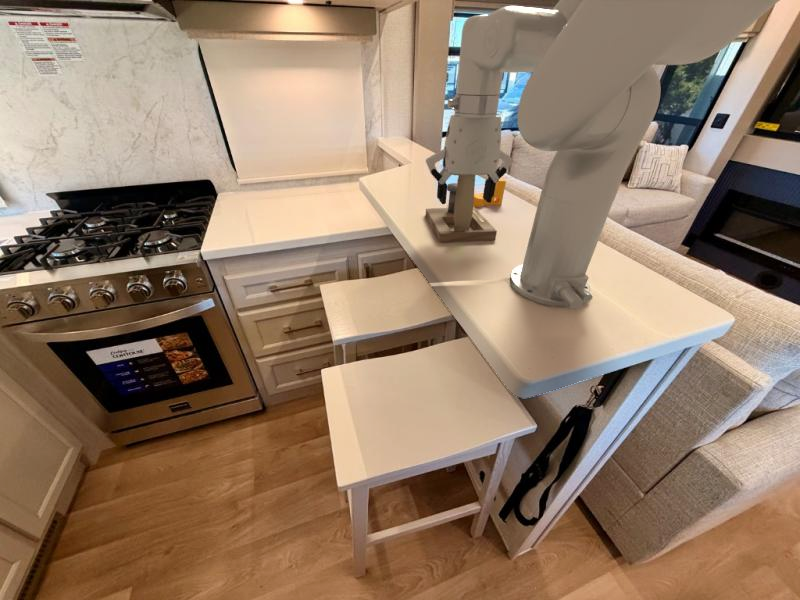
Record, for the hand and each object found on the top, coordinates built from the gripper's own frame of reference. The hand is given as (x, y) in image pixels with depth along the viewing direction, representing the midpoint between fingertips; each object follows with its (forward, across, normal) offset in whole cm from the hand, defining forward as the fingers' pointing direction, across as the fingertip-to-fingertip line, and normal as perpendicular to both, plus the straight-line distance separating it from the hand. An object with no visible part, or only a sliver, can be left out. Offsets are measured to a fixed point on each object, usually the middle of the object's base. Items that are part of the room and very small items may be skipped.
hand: (464, 201), depth 68 cm
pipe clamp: (+7, +10, +17) cm, 21 cm away
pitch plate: (+7, 0, +2) cm, 7 cm away
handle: (+7, 0, 0) cm, 7 cm away
